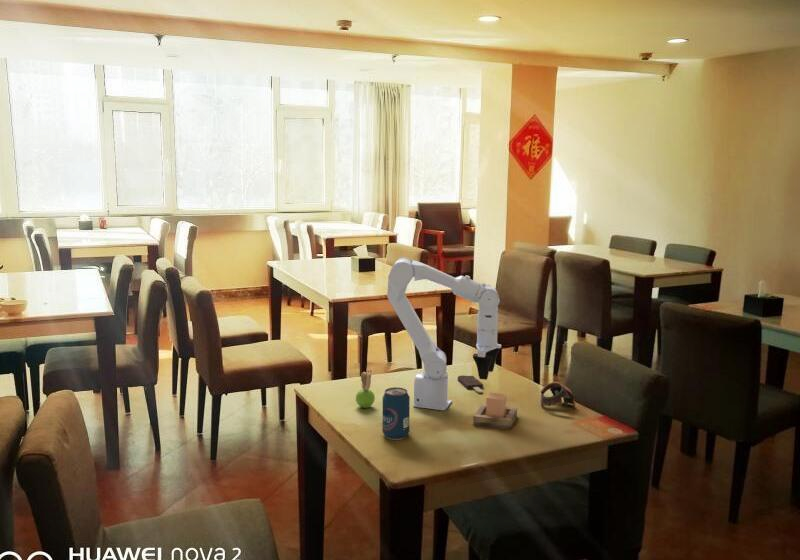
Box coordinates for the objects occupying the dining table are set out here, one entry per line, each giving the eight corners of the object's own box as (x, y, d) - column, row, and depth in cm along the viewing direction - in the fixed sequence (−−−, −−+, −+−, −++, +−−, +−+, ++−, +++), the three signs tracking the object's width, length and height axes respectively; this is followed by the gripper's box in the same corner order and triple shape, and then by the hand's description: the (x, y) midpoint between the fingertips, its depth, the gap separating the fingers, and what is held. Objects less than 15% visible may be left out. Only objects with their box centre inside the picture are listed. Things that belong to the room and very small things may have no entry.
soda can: (376, 436, 173) (376, 391, 171) (394, 428, 178) (394, 384, 176) (397, 443, 168) (397, 397, 166) (414, 435, 173) (415, 390, 171)
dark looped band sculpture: (581, 414, 190) (570, 392, 187) (549, 426, 192) (538, 404, 189) (572, 390, 201) (562, 369, 198) (543, 402, 203) (532, 381, 200)
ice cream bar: (488, 394, 206) (471, 379, 220) (489, 389, 205) (471, 374, 220) (472, 395, 204) (456, 380, 219) (472, 390, 204) (456, 375, 218)
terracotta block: (485, 418, 182) (486, 397, 181) (489, 413, 186) (490, 392, 185) (502, 421, 180) (503, 399, 179) (505, 415, 185) (506, 394, 184)
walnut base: (473, 424, 180) (473, 415, 180) (481, 412, 190) (481, 403, 189) (510, 429, 177) (510, 420, 177) (516, 416, 186) (517, 408, 186)
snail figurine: (361, 412, 189) (360, 371, 187) (353, 405, 195) (352, 365, 193) (378, 410, 191) (378, 369, 189) (370, 402, 197) (370, 363, 195)
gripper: (496, 336, 182) (494, 384, 185) (506, 324, 196) (504, 369, 198) (470, 333, 185) (469, 381, 187) (482, 322, 198) (481, 366, 201)
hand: (486, 375), depth 193 cm, fingers open, 7 cm apart
